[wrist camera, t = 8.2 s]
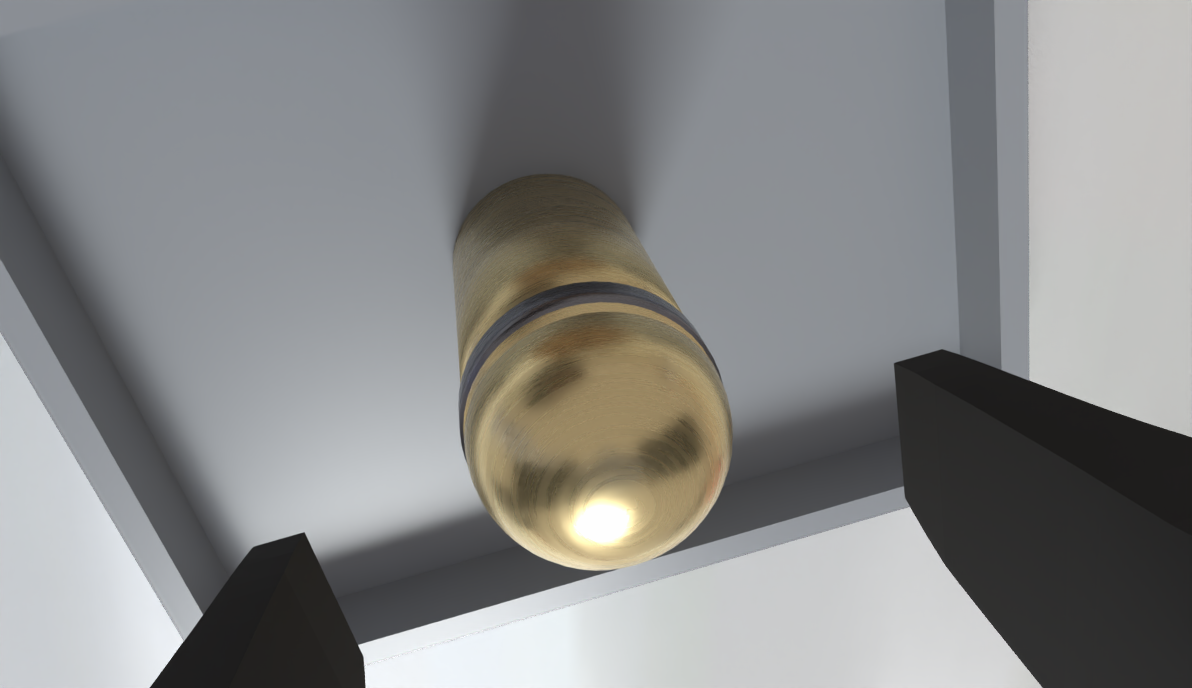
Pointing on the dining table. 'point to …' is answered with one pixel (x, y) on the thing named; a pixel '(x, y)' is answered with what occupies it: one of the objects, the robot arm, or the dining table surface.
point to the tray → (425, 259)
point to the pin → (581, 380)
